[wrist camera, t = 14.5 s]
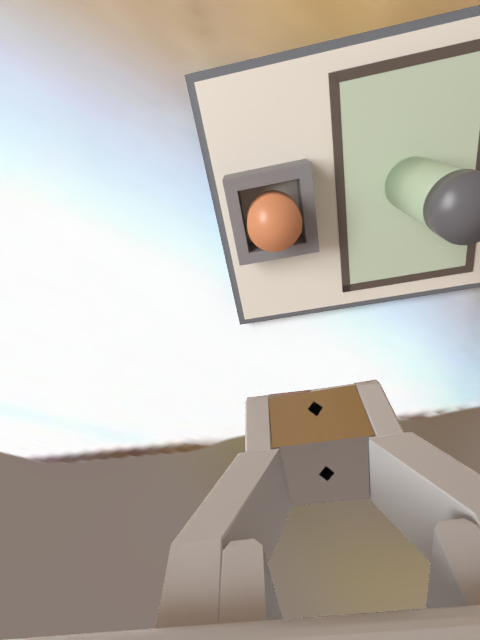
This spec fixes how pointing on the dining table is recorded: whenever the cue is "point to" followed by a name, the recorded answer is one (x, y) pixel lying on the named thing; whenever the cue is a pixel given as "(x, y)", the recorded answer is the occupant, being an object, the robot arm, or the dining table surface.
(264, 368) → the dining table surface
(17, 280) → the dining table surface
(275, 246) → the button
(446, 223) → the marker
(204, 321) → the dining table surface
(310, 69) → the cream board with holder
